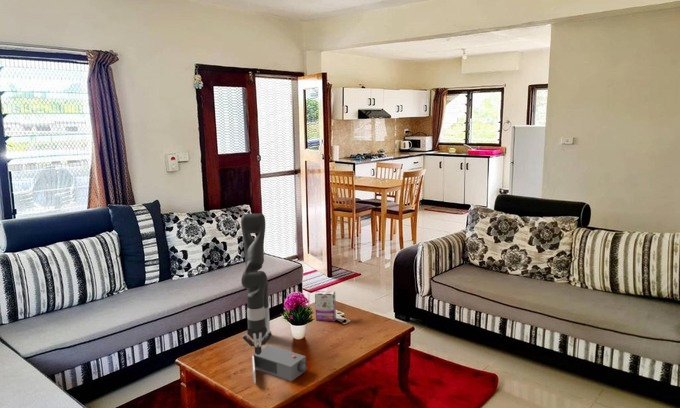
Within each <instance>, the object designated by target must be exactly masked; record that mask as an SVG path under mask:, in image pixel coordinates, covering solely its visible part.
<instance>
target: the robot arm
mask: <svg viewBox="0 0 680 408" xmlns="http://www.w3.org/2000/svg"><path fill="white" fill-rule="evenodd" d="M240 218H241V219H240V226H241V232H242V238H243V246H244V247H243V248H244V262H245V267H244V270H243V273H242V276H241V285H242V287H243V288H245V289H246V291H247V295H246V304H247V309H246V317H247V330H246V333H242V339H243V340H244V341H245V342H246V343H247V345H249V346H250V347H254V354H257V355H260V353H261V352H262V351H261V349H262V346H265V345H266V344H267V343H268V341H269V340H270V338H271V337H272V335H273V333H272V331H271V327H270V305H269V280H268V276H267V273H266V272H265V271H264V270H261V269H263V264H264V262H265V255H264V254H265V253H264V243H265V235H266V234H265V232H266V218H265V215H264V214H263V213H245V214H243V215H242V216H241V217H240ZM252 234H257V235H256V237H255V238H254V237H253V236H252ZM249 337H250V338H249Z"/></svg>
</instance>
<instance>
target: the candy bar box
mask: <svg viewBox="0 0 680 408" xmlns="http://www.w3.org/2000/svg"><path fill="white" fill-rule="evenodd" d="M314 302H315V303H314V304H315V321H316V322H318V321H319V322H335V321H336V319H337V308H336V307H337V306H336V305H337V304H336V291H331V290H330V291H328V290H316V291H315V293H314ZM335 318H336V319H335Z"/></svg>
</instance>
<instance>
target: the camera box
mask: <svg viewBox="0 0 680 408" xmlns="http://www.w3.org/2000/svg"><path fill="white" fill-rule="evenodd" d="M261 351H262V352H261V353H260V355H257V354H255V353H253V354H252V355H254V364H255V370H257V371H259V372H263V373H266V374H268V375H272V376H274V377H278V378H279V379H283V380H286V381H288V382H293V381H295V379H297V378H298V377H299V376H301V375H302V374H303V373H305V372H306V371H307V366H308V365H307V357H306V355H303V354H300V353H296V352H293V351H290V350H287V349H283V348H280V347H276V346H273V345H270V344H268V345H266V346H264V347H263V348H261Z"/></svg>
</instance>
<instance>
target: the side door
mask: <svg viewBox="0 0 680 408" xmlns="http://www.w3.org/2000/svg"><path fill="white" fill-rule="evenodd" d="M251 362H252V381H253V384H255V385H256V384H257V382H256V381H257V380H256V369H255V364H254V355H253V354H251Z"/></svg>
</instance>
